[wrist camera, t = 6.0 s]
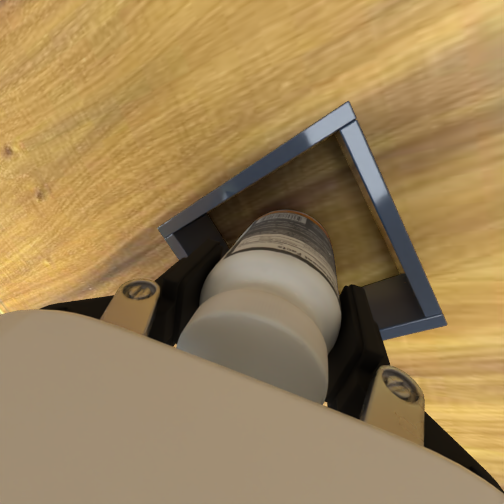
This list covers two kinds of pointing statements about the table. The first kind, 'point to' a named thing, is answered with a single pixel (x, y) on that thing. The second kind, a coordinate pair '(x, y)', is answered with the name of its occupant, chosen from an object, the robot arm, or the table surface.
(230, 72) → the table surface
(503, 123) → the table surface
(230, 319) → the pill bottle
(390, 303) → the caddy
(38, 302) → the table surface
